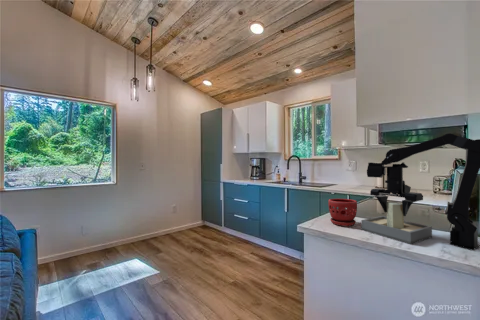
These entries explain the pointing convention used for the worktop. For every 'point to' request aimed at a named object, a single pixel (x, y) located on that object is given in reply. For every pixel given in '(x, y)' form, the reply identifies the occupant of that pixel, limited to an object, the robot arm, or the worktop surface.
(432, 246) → the worktop surface
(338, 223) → the plant pot
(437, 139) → the robot arm
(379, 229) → the socket box
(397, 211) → the skincare box
